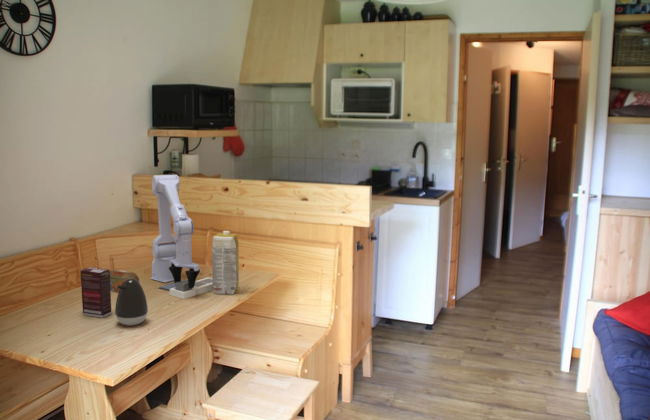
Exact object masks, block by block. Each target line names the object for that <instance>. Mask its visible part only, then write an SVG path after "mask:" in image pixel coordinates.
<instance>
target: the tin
mask: <svg viewBox="0 0 650 420" xmlns="http://www.w3.org/2000/svg"><path fill="white" fill-rule="evenodd" d="M130 278H133V279H136V280H137V281H138V282H139V283H140V278H139V276H138V275H137V274H136V272H133V271H130V270H129V271H128V270H121V269H114V270H110V291H111V293H112V292H113V293H117V294H118V293H119V290H120V288H118V287H117V286H118V285H122V283H123V282H124V281H125V280H127V279H130Z"/></svg>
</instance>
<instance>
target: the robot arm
mask: <svg viewBox="0 0 650 420" xmlns="http://www.w3.org/2000/svg"><path fill="white" fill-rule="evenodd" d="M151 178H152V179H151V190H152V195H154V196H156V199H157V200H156V201H157V213H158V231H159V233H158V236H157V237H156V238H154V239H153V240H152V248H151V252H152V256H153V260H152V262H151V277H150V279H151V280H155V281H158V282H161V283H165V284H166V283H169V282H175V283H176V282H180V281H181V280H182V271H183V268H185V269H188V270H185V271H184V273H185V275H186V278H187V280H188V286H189V288H194V285H195V281H197V278H198V276H199V274H200V272H201V269H200V264H197V263H195V262H193V259H192V258H193V257H192V256H193V254H192V252H193V251H192V247H193V246H192V245H193V244H192V235H193V234H194V230H195V226H194V221H193V219H191V218H190V217H189V216H188V213H187V210H186V207H185V206H184V204H181V201H180V197H179V192H178V191H179V190H180V185H181V180H180V177H179V176H178V174H161V175H159V174H158V175H157V174H155V175H153V176H152V177H151ZM171 220H172V221H171ZM172 223H173V227H172ZM172 229H173V230H172ZM172 231H173V233H174V235H172Z"/></svg>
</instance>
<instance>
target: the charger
mask: <svg viewBox="0 0 650 420" xmlns="http://www.w3.org/2000/svg"><path fill="white" fill-rule="evenodd" d="M185 280H186V279H185ZM185 280H183V281H180V282H176V283H175V290H179V291H183V292H185V291H188V290H192V288H189V286H188V281H185Z"/></svg>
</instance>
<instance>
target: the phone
mask: <svg viewBox="0 0 650 420" xmlns="http://www.w3.org/2000/svg"><path fill="white" fill-rule="evenodd" d="M183 280H185V281H188V279H185V278H181V281H183ZM174 287H175V282H174V281H172V282H171V283H167V284H165V285H162V286H159V287H158V288H157V289H159V290H163V291H167V292H169V289H171V288H174Z"/></svg>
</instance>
